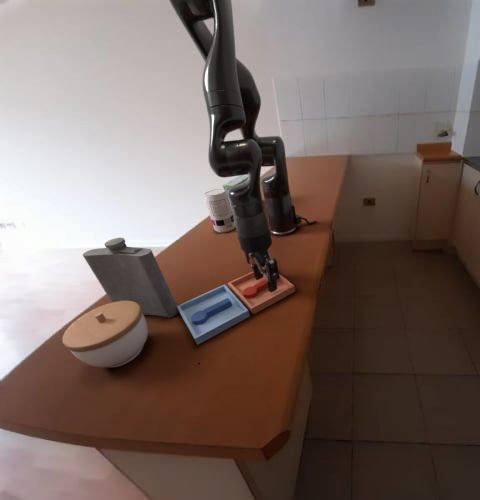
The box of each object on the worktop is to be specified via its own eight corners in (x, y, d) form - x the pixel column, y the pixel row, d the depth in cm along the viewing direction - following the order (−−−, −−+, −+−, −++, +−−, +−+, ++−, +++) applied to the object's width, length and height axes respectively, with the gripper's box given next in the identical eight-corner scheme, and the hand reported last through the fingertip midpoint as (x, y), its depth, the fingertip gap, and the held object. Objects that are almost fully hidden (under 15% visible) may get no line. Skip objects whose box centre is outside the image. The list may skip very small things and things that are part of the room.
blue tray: (226, 289, 75) (224, 284, 74) (249, 316, 66) (248, 310, 65) (179, 311, 69) (176, 306, 68) (197, 345, 59) (194, 338, 58)
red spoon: (272, 279, 77) (271, 274, 77) (279, 284, 75) (278, 279, 74) (241, 294, 72) (240, 289, 72) (247, 300, 70) (246, 295, 69)
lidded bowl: (103, 391, 51) (71, 350, 45) (76, 362, 57) (45, 324, 52) (169, 343, 60) (148, 304, 54) (139, 323, 66) (118, 286, 61)
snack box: (243, 220, 116) (234, 185, 108) (230, 220, 117) (221, 185, 109) (263, 202, 134) (257, 170, 126) (253, 201, 135) (246, 170, 127)
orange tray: (268, 270, 82) (267, 264, 81) (295, 291, 73) (294, 285, 72) (229, 288, 76) (227, 282, 75) (253, 314, 66) (251, 308, 65)
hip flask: (116, 315, 69) (72, 245, 59) (128, 304, 73) (89, 237, 63) (174, 317, 67) (139, 245, 57) (183, 306, 70) (152, 236, 60)
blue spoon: (228, 300, 71) (226, 295, 70) (233, 307, 68) (232, 302, 67) (190, 319, 66) (188, 314, 65) (195, 327, 63) (192, 322, 62)
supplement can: (210, 232, 108) (198, 195, 100) (224, 223, 114) (214, 188, 107) (226, 234, 105) (215, 196, 98) (240, 225, 112) (231, 189, 104)
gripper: (282, 232, 63) (292, 289, 72) (253, 216, 73) (265, 268, 81) (252, 244, 59) (266, 303, 68) (226, 225, 69) (241, 279, 77)
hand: (266, 284), depth 74 cm, fingers open, 7 cm apart
